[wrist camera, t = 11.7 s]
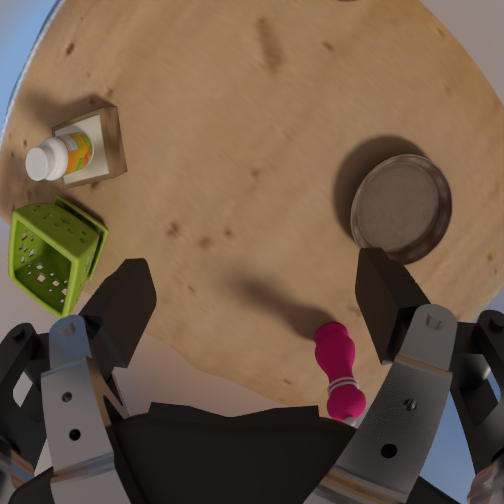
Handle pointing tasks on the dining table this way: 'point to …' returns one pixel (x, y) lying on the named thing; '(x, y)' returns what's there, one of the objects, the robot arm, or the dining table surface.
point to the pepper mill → (339, 373)
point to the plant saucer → (402, 208)
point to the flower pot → (54, 252)
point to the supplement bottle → (59, 156)
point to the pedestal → (96, 146)
